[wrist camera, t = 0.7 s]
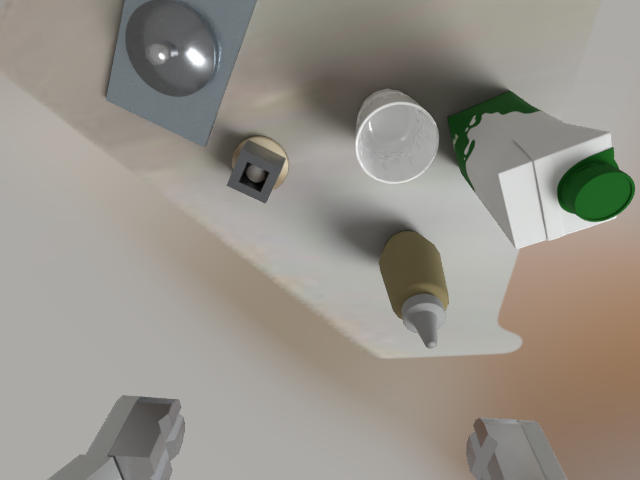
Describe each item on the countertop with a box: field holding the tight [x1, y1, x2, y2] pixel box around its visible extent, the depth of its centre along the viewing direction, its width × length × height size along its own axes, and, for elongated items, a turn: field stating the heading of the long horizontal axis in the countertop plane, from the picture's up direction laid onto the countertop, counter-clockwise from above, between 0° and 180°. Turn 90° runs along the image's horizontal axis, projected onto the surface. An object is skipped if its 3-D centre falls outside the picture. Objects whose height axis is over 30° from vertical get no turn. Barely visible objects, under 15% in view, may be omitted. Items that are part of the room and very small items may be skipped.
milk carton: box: [447, 91, 635, 249], centre depth 36 cm, size 9×9×20 cm
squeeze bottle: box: [379, 231, 449, 348], centre depth 46 cm, size 8×8×18 cm
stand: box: [232, 136, 289, 190], centre depth 46 cm, size 7×7×4 cm
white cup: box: [355, 88, 439, 184], centre depth 40 cm, size 8×8×10 cm
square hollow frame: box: [227, 140, 286, 203], centre depth 46 cm, size 5×5×4 cm
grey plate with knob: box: [106, 0, 257, 147], centre depth 39 cm, size 18×12×6 cm, turn 153°
